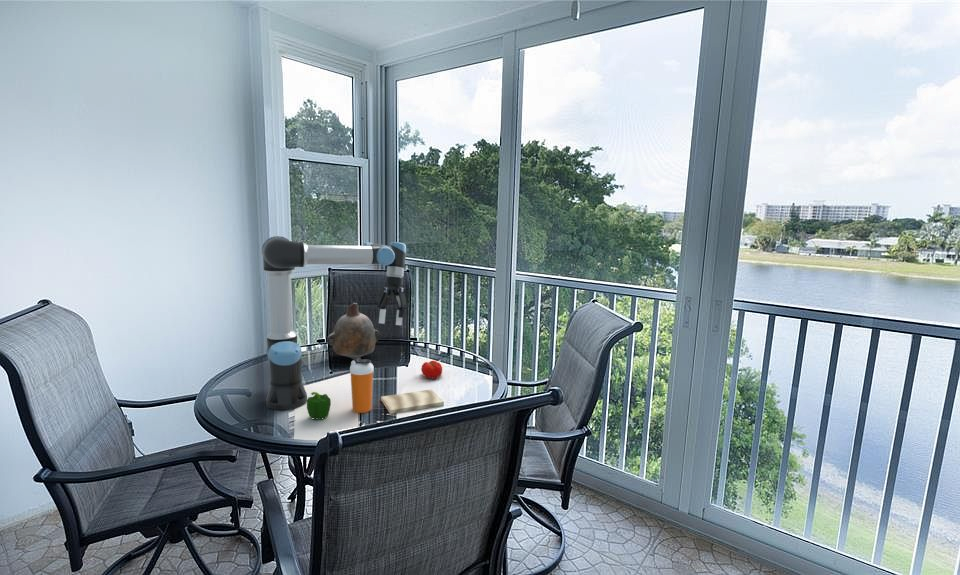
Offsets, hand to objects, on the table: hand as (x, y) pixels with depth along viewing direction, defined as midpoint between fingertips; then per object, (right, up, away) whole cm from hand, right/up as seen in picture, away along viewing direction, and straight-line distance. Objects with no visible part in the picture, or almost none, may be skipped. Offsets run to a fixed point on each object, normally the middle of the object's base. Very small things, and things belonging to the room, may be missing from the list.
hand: (389, 324), depth 207 cm
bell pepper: (-20, -32, -33) cm, 50 cm away
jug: (-25, -21, +34) cm, 47 cm away
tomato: (+17, -26, +14) cm, 34 cm away
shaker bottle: (-6, -31, -25) cm, 41 cm away
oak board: (+12, -30, -17) cm, 37 cm away
